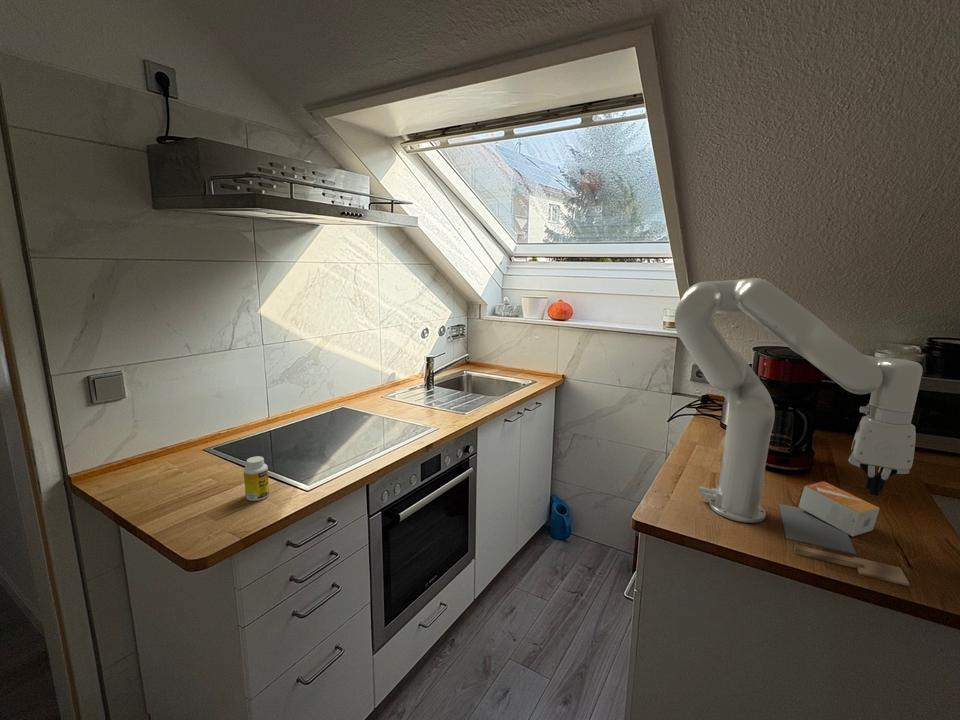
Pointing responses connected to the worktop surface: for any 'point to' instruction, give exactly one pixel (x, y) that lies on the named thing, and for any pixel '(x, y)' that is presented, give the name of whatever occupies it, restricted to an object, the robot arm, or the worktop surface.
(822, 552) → the light wooden turner
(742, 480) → the robot arm
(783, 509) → the mat
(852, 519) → the small box
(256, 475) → the supplement bottle
